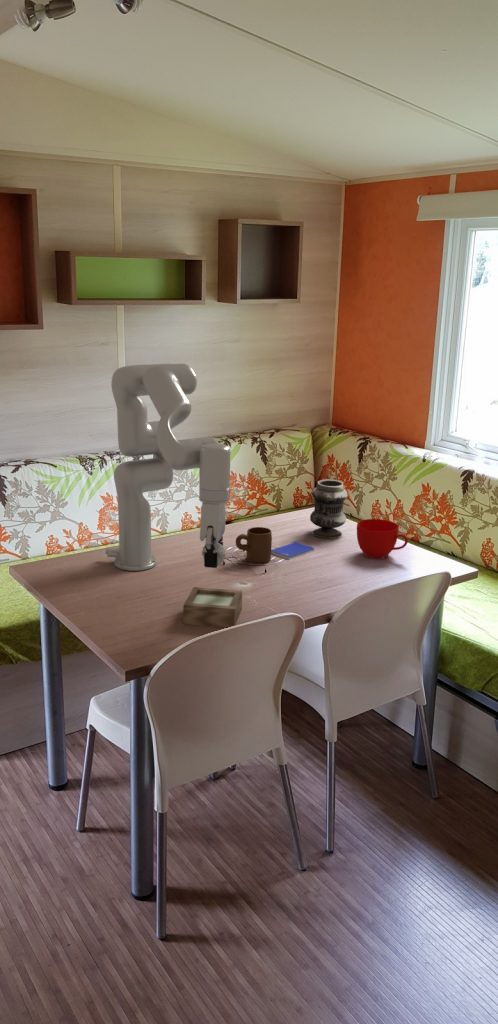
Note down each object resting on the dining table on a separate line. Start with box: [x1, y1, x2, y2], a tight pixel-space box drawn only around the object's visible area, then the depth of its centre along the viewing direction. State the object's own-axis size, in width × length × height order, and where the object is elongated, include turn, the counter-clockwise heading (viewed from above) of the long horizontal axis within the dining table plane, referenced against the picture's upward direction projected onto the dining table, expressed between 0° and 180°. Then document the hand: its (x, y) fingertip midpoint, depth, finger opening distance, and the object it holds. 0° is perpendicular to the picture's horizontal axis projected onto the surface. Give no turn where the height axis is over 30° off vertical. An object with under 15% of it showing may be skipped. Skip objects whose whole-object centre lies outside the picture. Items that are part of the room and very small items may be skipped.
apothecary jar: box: [309, 479, 348, 539], centre depth 281 cm, size 12×12×18 cm
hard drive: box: [271, 541, 315, 561], centre depth 266 cm, size 2×8×12 cm
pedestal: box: [182, 586, 243, 628], centre depth 216 cm, size 13×12×5 cm
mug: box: [235, 526, 273, 564], centre depth 256 cm, size 12×8×9 cm, turn 121°
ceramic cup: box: [356, 518, 409, 560], centre depth 262 cm, size 13×17×10 cm
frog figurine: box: [201, 542, 227, 567], centre depth 212 cm, size 6×7×7 cm
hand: (213, 561), depth 213 cm, fingers closed on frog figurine, 7 cm apart
